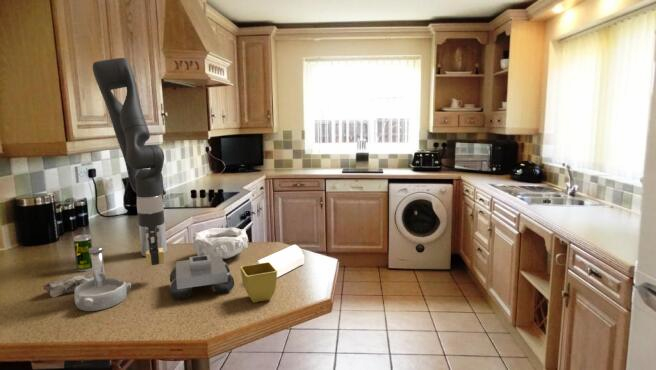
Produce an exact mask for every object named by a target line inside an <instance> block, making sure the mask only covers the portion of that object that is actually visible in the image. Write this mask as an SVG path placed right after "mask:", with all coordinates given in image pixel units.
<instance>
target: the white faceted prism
mask: <svg viewBox="0 0 656 370" xmlns="http://www.w3.org/2000/svg"><path fill="white" fill-rule="evenodd" d="M265 262H270V263H271V264H272V266H273V267H274V268H275V269H276V270H277V278H279V277H281V276H283V275H285V274H287V273H289V272H290V271H293V270H294V269H296V268H299V267H301V266H302V265H304V264H305V255H304V253H303V251H302V249H301V248H300V247H299V246H298V245H296V244H292V245H291V246H287V247H286V248H284V249H281V250H280V251H277V252H274V253H272V254H269V255H268V256H266V257H263V258H261V259H259V260H257V261H255V263H254V264H259V263H265Z"/></svg>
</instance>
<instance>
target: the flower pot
mask: <svg viewBox="0 0 656 370" xmlns="http://www.w3.org/2000/svg"><path fill="white" fill-rule="evenodd" d="M239 269H240V274H241V280H242V285H243V287H244V289H245V292H246V293H247V295H248V297H249V298H250V300H251V302H252V303H254V304H255V303H259V301H260V302H264V301H269V300H271V299H272V298H273V296H274V294H275V291H276V288H277V279H278V277H277V270H276V269H275V268H274V267H273V266H272V264H271V263H270V262H265V263H259V264H255V263H254V264H248V265H242V266H240V267H239Z"/></svg>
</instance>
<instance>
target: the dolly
mask: <svg viewBox="0 0 656 370" xmlns="http://www.w3.org/2000/svg"><path fill="white" fill-rule="evenodd" d="M169 282H170V284H169V294H170V296H171V298H173V299H174V300H176V301H184V300H186V299H188V298H189V297H190V296H191V294H192V292H193V288H195V287H196V288H197V287H202V286H210V285H212V286H213V289H214V290H215V292H217V293H218V294H222V293H224V294H228V293H229V292H231V291H232V290H233V288H234V287H235V279H234V277H233V275H232V273H231V270H230V267H229V265H228V263H227V262H226V261H224V259H222V257H221V256H216V257H210V256H209V255H201V256H198V255H195V256H189V259H186V260H178V261H175V267H174V268H173V269H171V270H170V273H169Z"/></svg>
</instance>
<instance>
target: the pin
mask: <svg viewBox="0 0 656 370" xmlns="http://www.w3.org/2000/svg"><path fill="white" fill-rule="evenodd" d="M103 252H104V246H92V248H89V253H90V254H91V260H92V268H93V269H92V273H93V276H94V284H95V287H102V286H105V285H106V280H105V278H106V273H105V267H104V266H105V265H104V257H103Z"/></svg>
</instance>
